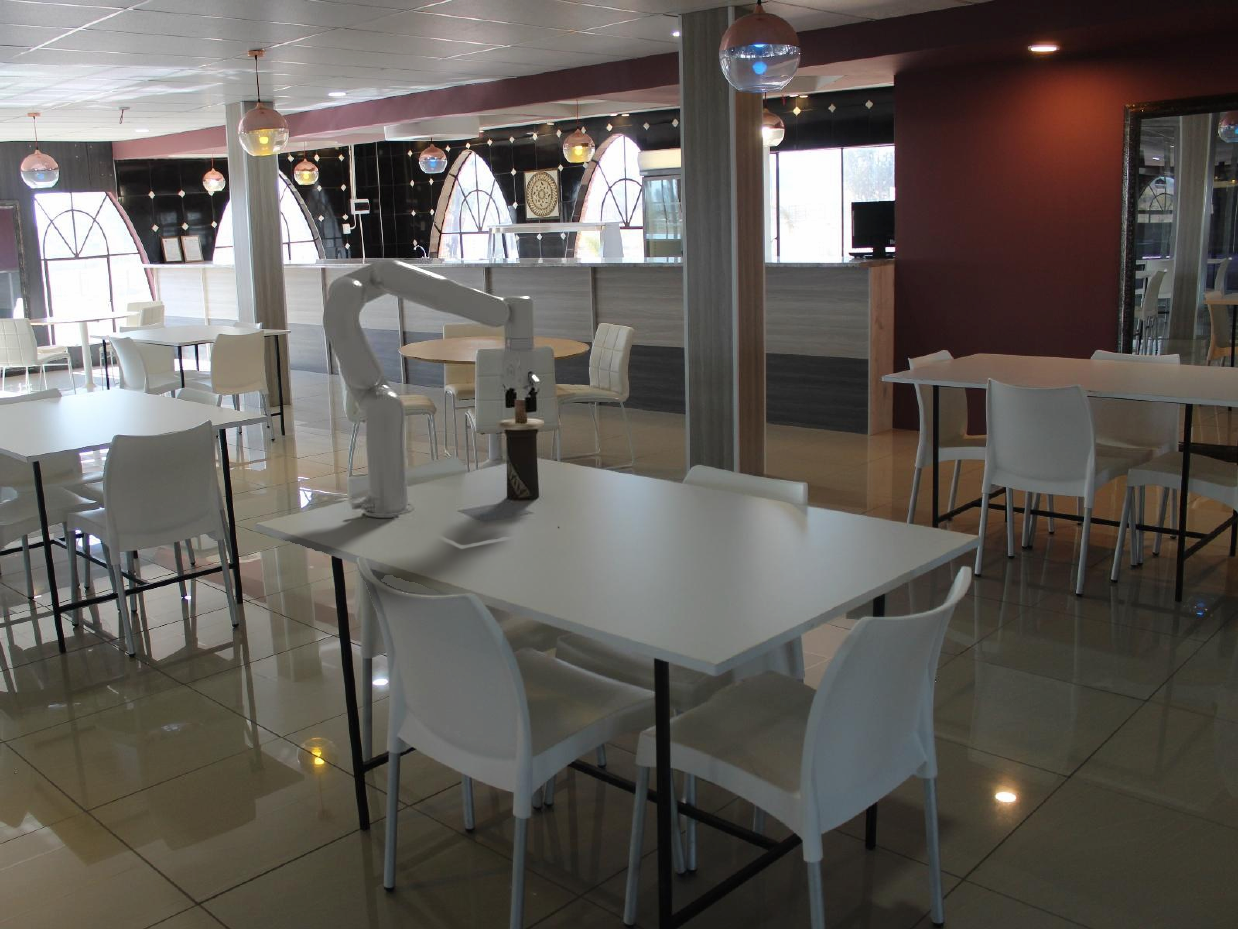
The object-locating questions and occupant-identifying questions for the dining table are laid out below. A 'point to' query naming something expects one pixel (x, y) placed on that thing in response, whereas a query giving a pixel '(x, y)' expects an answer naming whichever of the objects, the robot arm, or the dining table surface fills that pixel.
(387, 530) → the dining table surface
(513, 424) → the lid
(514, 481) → the container
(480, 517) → the mat
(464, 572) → the dining table surface
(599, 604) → the dining table surface
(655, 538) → the dining table surface
